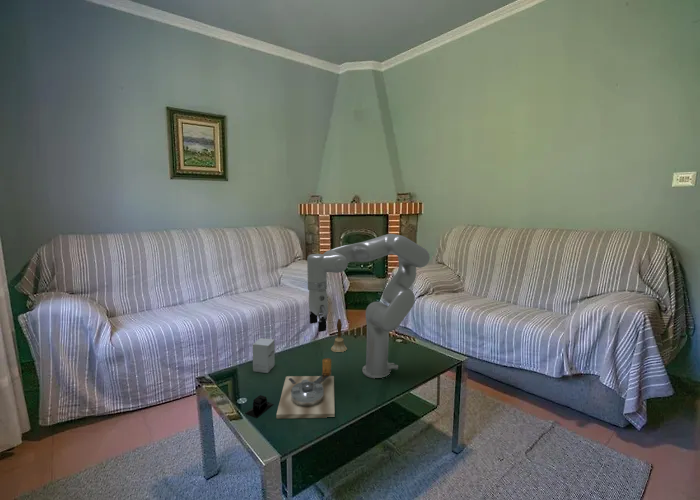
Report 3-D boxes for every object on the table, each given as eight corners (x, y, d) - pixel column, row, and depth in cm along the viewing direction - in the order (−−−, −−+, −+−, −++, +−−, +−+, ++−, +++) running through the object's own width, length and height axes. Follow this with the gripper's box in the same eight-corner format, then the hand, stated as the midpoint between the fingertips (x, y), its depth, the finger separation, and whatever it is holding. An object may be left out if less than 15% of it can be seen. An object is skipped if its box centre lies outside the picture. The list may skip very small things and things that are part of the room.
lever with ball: (312, 410, 120) (312, 386, 119) (284, 400, 125) (284, 378, 124) (341, 382, 139) (341, 361, 138) (316, 374, 145) (316, 355, 143)
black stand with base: (255, 422, 116) (255, 410, 115) (239, 416, 119) (239, 404, 119) (278, 404, 127) (278, 392, 126) (263, 398, 130) (263, 387, 130)
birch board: (333, 379, 145) (333, 375, 144) (334, 417, 119) (334, 413, 119) (286, 379, 143) (286, 375, 143) (276, 418, 118) (276, 414, 117)
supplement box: (268, 373, 148) (267, 345, 147) (252, 371, 150) (251, 344, 148) (275, 365, 155) (275, 339, 154) (260, 363, 157) (259, 337, 155)
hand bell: (346, 353, 170) (347, 322, 168) (330, 352, 170) (330, 321, 168) (347, 346, 178) (347, 316, 176) (331, 345, 179) (331, 316, 176)
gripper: (334, 289, 129) (335, 332, 131) (318, 279, 144) (318, 318, 146) (316, 291, 125) (316, 336, 128) (301, 281, 141) (302, 321, 143)
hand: (317, 326), depth 137 cm, fingers open, 9 cm apart
